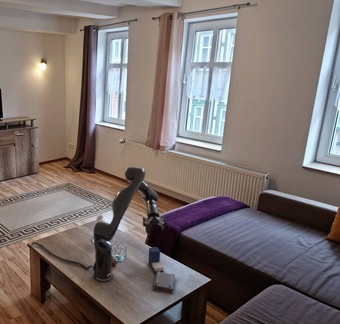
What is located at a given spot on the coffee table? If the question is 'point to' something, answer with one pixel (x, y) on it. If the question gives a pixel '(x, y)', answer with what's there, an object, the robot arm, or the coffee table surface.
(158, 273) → the wooden base with rails
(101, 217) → the female figurine
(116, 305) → the coffee table surface
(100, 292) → the coffee table surface
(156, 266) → the blue rectangular block
